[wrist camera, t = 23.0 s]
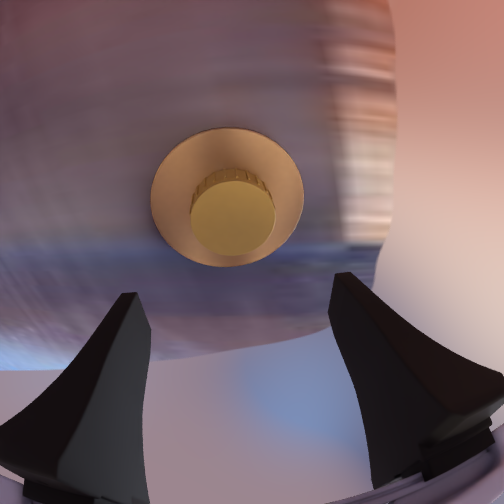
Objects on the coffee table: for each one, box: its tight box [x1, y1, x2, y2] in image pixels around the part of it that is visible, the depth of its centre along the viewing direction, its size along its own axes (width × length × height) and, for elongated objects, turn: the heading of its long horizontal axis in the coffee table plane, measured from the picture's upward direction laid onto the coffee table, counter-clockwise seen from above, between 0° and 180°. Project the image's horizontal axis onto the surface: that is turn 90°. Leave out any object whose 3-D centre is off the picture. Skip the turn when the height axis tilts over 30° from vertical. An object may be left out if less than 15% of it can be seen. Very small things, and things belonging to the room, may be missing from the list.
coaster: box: [150, 127, 304, 267], centre depth 18 cm, size 9×9×1 cm
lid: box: [189, 168, 276, 256], centre depth 17 cm, size 5×5×2 cm
